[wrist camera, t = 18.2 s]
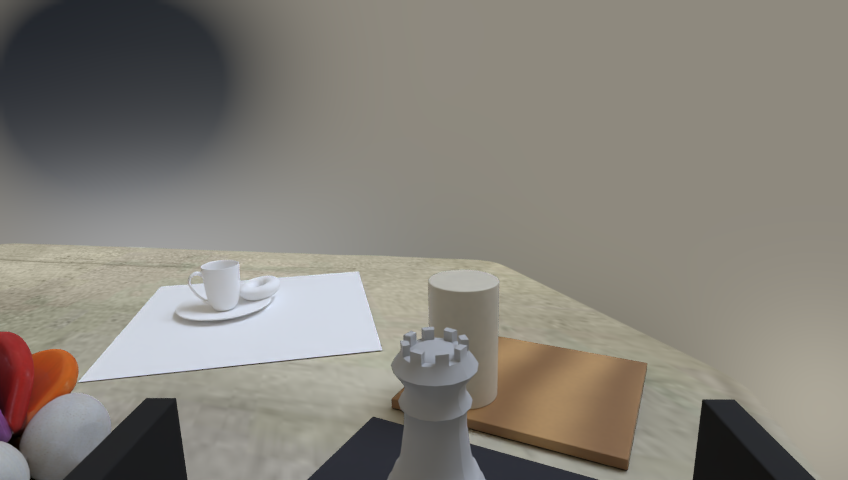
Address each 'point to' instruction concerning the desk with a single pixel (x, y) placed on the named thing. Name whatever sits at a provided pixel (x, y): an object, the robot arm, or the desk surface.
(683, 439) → the desk surface
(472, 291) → the ivory piece
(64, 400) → the colorful ball cluster
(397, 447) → the dark mat
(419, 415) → the rook chess piece
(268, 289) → the teacup and saucer
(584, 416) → the brown square board
